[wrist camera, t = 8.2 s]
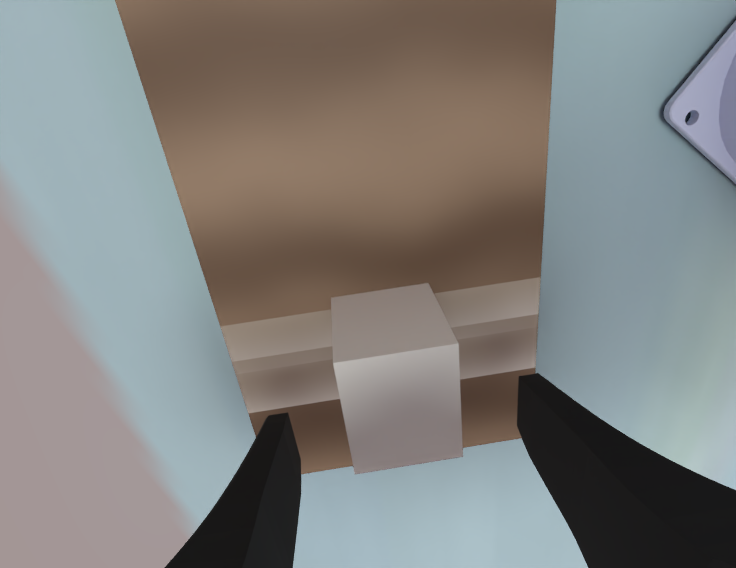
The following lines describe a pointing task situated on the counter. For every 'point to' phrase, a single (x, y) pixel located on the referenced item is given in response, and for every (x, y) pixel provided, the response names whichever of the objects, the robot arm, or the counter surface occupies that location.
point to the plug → (397, 378)
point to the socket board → (357, 182)
